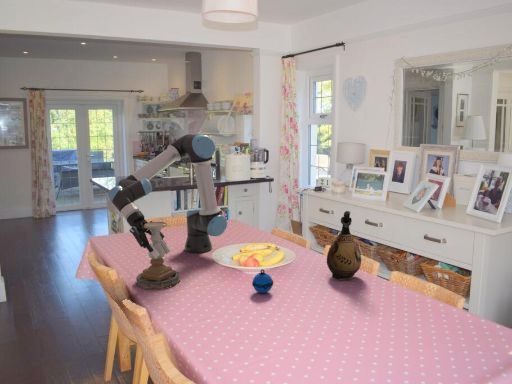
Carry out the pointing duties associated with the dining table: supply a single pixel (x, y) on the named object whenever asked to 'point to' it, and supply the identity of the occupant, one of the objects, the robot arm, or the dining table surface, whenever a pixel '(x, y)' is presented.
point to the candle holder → (158, 268)
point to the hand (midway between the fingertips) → (163, 254)
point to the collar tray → (158, 282)
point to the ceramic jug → (344, 253)
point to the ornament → (262, 282)
